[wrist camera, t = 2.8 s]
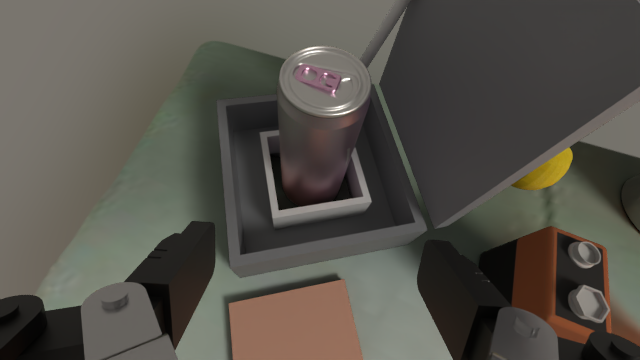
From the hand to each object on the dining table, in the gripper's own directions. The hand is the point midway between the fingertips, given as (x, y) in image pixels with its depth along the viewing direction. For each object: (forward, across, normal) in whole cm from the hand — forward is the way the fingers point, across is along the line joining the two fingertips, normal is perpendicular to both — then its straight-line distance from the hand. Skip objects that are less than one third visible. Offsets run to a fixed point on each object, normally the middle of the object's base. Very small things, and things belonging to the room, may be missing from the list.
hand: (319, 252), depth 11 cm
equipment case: (+20, 0, +4) cm, 20 cm away
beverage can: (+20, 0, +4) cm, 20 cm away
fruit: (+22, -22, +2) cm, 31 cm away
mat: (+9, 0, +15) cm, 18 cm away
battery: (+13, -18, +11) cm, 25 cm away
